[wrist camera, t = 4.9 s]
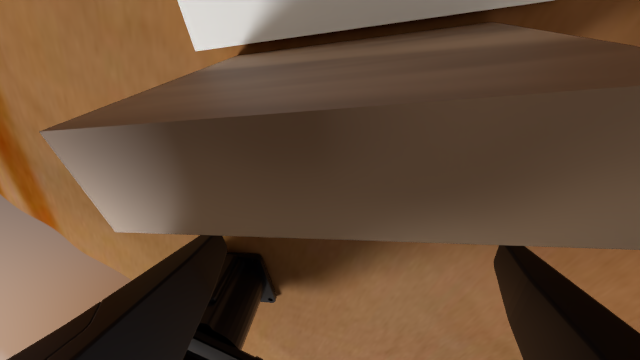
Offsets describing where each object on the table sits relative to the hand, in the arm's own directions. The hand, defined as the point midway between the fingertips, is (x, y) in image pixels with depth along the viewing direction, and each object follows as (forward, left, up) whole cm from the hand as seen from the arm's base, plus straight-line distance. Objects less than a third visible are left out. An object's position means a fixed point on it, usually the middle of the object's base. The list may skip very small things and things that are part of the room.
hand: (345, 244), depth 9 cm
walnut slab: (+4, 0, -8) cm, 9 cm away
